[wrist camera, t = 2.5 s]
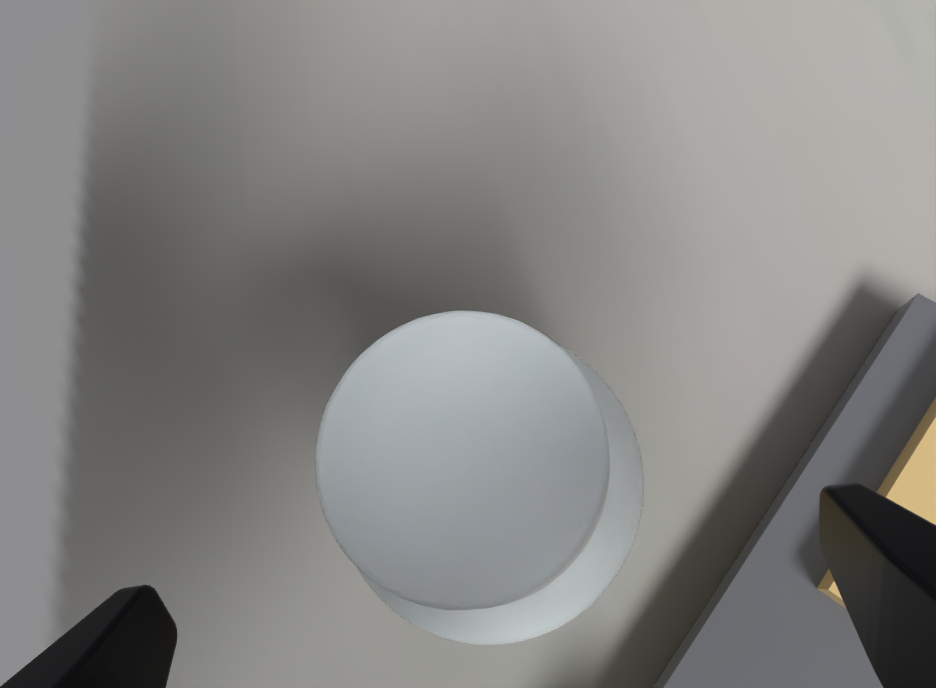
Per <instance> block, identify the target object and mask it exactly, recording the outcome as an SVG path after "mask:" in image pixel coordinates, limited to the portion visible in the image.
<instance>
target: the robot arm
mask: <svg viewBox="0 0 936 688" xmlns="http://www.w3.org/2000/svg"><path fill="white" fill-rule="evenodd" d="M819 543H820V547H821V550H822V553H823V556H824V558H825V561H826V563H827V565H828V567H829V570H830V572H831V574H832V577H833V579H834V581H835V583H836V586H837V588H838V590H839V593H840V595H841V597H842V599H843V602H844V604H845V606H846V609H847V611H848V613H849V615H850V618H851V620H852V622H853V625H854V627H855V629H856V631H857V634H858V636H859V638H860V641H861V643H862V645H863V647H864V650H865V652H866V654H867V656H868V659H869V661H870V663H871V665H872V667H873V669H874V671H875V673H876V675H877V677H878V679H879V681H880V683H881V684H882V686H883V688H936V525H935V524H933V523H931V522H929V521H928V520H926V519H924V518H922V517H920V516H919V515H917V514H915V513H913V512H911V511H910V510H908V509H906V508H904V507H902V506H901V505H899V504H897V503H895V502H893V501H892V500H890V499H888V498H886V497H884V496H883V495H881V494H879V493H877V492H875V491H874V490H872V489H870V488H868V487H866V486H865V485H863V484H860V483H857V482H847V483H841V484H834V485H827V486H825V487H823V488H822V489H821V492H820V497H819ZM176 643H177V628H176V624H175V622H174V620H173V618H172V617H171V615H170V613H169V612H168V610H167V608H166V607H165V605H164V603H163V601H162V600H161V598H160V596H159V595H158V593H157V591H156V590H155V589H154V588H153V587H151V586H149V585H141V586H134V587H127V588H123V589H120V590H118V591H117V592H115V593H114V594H113V595H112V596H110V597H109V598H108V599H107V600H106V601H104V602H103V603H102V604H101V605H99V606H98V607H97V608H96V609H95V610H93V611H92V612H91V613H90V614H88V615H87V616H86V617H85V618H84V619H82V620H81V621H80V622H79V623H77V624H76V625H75V626H74V627H73V628H71V629H70V630H69V631H68V632H66V633H65V634H64V635H63V636H62V637H60V638H59V639H58V640H57V641H55V642H54V643H53V644H52V645H51V646H49V647H48V648H47V649H46V650H44V651H43V652H42V653H41V654H40V655H38V656H37V657H36V658H35V659H33V660H32V661H31V662H30V663H29V664H27V665H26V666H25V667H24V668H22V669H21V670H20V671H19V672H18V673H17V674H15V675H14V676H13V677H11V678H10V679H9V680H8V681H7V682H6V683H4V684H3V685H2V686H0V688H166V684H167V680H168V676H169V672H170V668H171V664H172V660H173V655H174V651H175V647H176Z"/></svg>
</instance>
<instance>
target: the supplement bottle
mask: <svg viewBox="0 0 936 688" xmlns="http://www.w3.org/2000/svg"><path fill="white" fill-rule="evenodd" d="M315 467H316V482H317V489H318V493H319V500H320V504H321V507H322V510H323V513H324V516H325V519H326V521H327V523H328V525H329V528H330V530H331V532H332V534H333V536H334V537H335V539H336V541H337V543H338V544H339V546H340V547H341V549H342V550H343V552H344V553H345V554H346V556H347V557H348V558H349V559H350V560H351V561H352V562H353V564H354V565H355V566H356V567H357V569H358V570H359V572H360V573H361V575H362V576H363V578H364V579H365V581H366V582H367V584H368V585H369V586H370V587H371V589H372V590H373V591H374V592H375V593H376V594H377V596H378V597H379V598H380V599H381V600H382V601H383V602H384V603H385V604H387V605H388V606H389V607H390V608H391V609H392V610H393V611H395V612H396V613H397V614H398V615H400V616H401V617H402V618H404V619H405V620H407V621H408V622H410V623H412V624H414V625H415V626H417V627H419V628H421V629H423V630H425V631H427V632H430V633H432V634H435V635H437V636H440V637H442V638H446V639H449V640H453V641H457V642H462V643H468V644H478V645H498V644H507V643H514V642H519V641H523V640H528V639H531V638H535V637H538V636H541V635H544V634H546V633H548V632H551V631H553V630H555V629H557V628H559V627H561V626H562V625H564V624H566V623H567V622H569V621H571V620H572V619H574V618H575V617H577V616H578V615H579V614H581V613H582V612H583V611H585V610H586V609H587V608H588V607H589V606H590V605H591V604H593V603H594V602H595V601H596V600H597V599H598V598H599V597H600V596H601V595H602V594H603V593H604V592H605V590H606V589H607V588H608V586H609V585H610V584H611V582H612V581H613V580H614V578H615V577H616V576H617V574H618V572H619V571H620V569H621V567H622V565H623V564H624V562H625V560H626V558H627V556H628V554H629V552H630V550H631V547H632V545H633V542H634V539H635V536H636V533H637V530H638V526H639V522H640V518H641V513H642V506H643V491H644V477H643V467H642V458H641V454H640V449H639V444H638V441H637V438H636V435H635V432H634V429H633V426H632V424H631V421H630V419H629V417H628V415H627V413H626V411H625V409H624V407H623V406H622V404H621V402H620V401H619V399H618V398H617V396H616V395H615V393H614V392H613V390H612V389H611V388H610V387H609V385H608V384H607V383H606V382H605V380H604V379H603V378H602V377H601V376H600V375H599V374H598V373H597V372H596V371H595V370H594V369H593V368H591V367H590V366H589V365H588V364H587V363H585V362H584V361H583V360H582V359H580V358H579V357H578V356H576V355H575V354H573V353H572V352H570V351H568V350H567V349H565V348H563V347H561V346H559V345H557V344H556V343H554V342H553V341H552V340H551V339H549V338H548V337H547V336H545V335H544V334H542V333H541V332H539V331H537V330H535V329H534V328H532V327H530V326H528V325H527V324H525V323H523V322H521V321H518V320H515V319H512V318H509V317H506V316H503V315H500V314H496V313H488V312H480V311H468V310H461V311H449V312H443V313H437V314H432V315H428V316H424V317H421V318H417V319H415V320H413V321H410V322H408V323H406V324H403V325H401V326H399V327H397V328H395V329H393V330H392V331H390V332H388V333H387V334H386V335H384V336H383V337H381V338H380V339H378V340H377V341H376V342H374V343H373V344H372V345H371V346H369V347H368V348H367V349H366V350H365V351H364V352H363V353H362V354H361V355H360V356H359V357H358V358H357V359H356V360H355V361H354V362H353V363H352V364H351V366H350V367H349V368H348V369H347V371H346V372H345V374H344V375H343V377H342V378H341V380H340V381H339V383H338V385H337V386H336V388H335V390H334V392H333V393H332V395H331V397H330V399H329V401H328V403H327V406H326V408H325V411H324V414H323V417H322V420H321V424H320V427H319V432H318V437H317V443H316V457H315Z"/></svg>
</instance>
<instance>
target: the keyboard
mask: <svg viewBox="0 0 936 688" xmlns="http://www.w3.org/2000/svg"><path fill="white" fill-rule="evenodd" d="M847 482H857V483H860V484H863V485H865V486H866V487H868V488H870V489H872V490H874V491H875V492H877V493H879V494H881V495H883V496H884V497H886V498H888V499H890V500H892V501H893V502H895V503H897V504H899V505H901V506H902V507H904V508H906V509H908V510H910V511H911V512H913V513H915V514H917V515H919V516H920V517H922V518H924V519H926V520H928V521H929V522H931V523H933V524H935V525H936V303H935V302H933V301H931V300H929V299H927V298H925V297H924V296H922V295H920V294H917V295H916V296H915V297H913V298H912V299H911V300H910V301H908V302H907V303H906V304H905V305H903V306H902V307H901V308H900V309H899V310H897V312H896V313H895V315H894V316H893V318H892V319H891V321H890V322H889V324H888V326H887V327H886V329H885V330H884V332H883V333H882V335H881V336H880V338H879V339H878V341H877V342H876V344H875V346H874V347H873V349H872V350H871V352H870V353H869V355H868V356H867V358H866V359H865V361H864V363H863V364H862V366H861V367H860V369H859V370H858V372H857V373H856V375H855V376H854V378H853V379H852V381H851V383H850V384H849V386H848V387H847V389H846V390H845V392H844V393H843V395H842V396H841V398H840V400H839V401H838V403H837V404H836V406H835V407H834V409H833V410H832V412H831V413H830V415H829V416H828V418H827V420H826V421H825V423H824V424H823V426H822V427H821V429H820V430H819V432H818V433H817V435H816V437H815V438H814V440H813V441H812V443H811V444H810V446H809V447H808V449H807V450H806V452H805V453H804V455H803V457H802V458H801V460H800V461H799V463H798V464H797V466H796V467H795V469H794V470H793V472H792V474H791V475H790V477H789V478H788V480H787V481H786V483H785V484H784V486H783V487H782V489H781V490H780V492H779V494H778V495H777V497H776V498H775V500H774V501H773V503H772V504H771V506H770V507H769V509H768V511H767V512H766V514H765V515H764V517H763V518H762V520H761V521H760V523H759V524H758V526H757V527H756V529H755V531H754V532H753V534H752V535H751V537H750V538H749V540H748V541H747V543H746V544H745V546H744V548H743V549H742V551H741V552H740V554H739V555H738V557H737V558H736V560H735V561H734V563H733V564H732V566H731V568H730V569H729V571H728V572H727V574H726V575H725V577H724V578H723V580H722V581H721V583H720V585H719V586H718V588H717V589H716V591H715V592H714V594H713V595H712V597H711V598H710V600H709V601H708V603H707V605H706V606H705V608H704V609H703V611H702V612H701V614H700V615H699V617H698V618H697V620H696V622H695V623H694V625H693V626H692V628H691V629H690V631H689V632H688V634H687V635H686V637H685V638H684V640H683V642H682V643H681V645H680V646H679V648H678V649H677V651H676V652H675V654H674V655H673V657H672V659H671V660H670V662H669V663H668V665H667V666H666V668H665V669H664V671H663V672H662V674H661V675H660V677H659V679H658V680H657V682H656V683H655V685H654V686H653V688H883V686H882V684H881V683H880V681H879V679H878V677H877V675H876V673H875V671H874V669H873V667H872V665H871V663H870V661H869V659H868V656H867V654H866V652H865V650H864V647H863V645H862V643H861V641H860V638H859V636H858V634H857V631H856V629H855V627H854V625H853V622H852V620H851V618H850V615H849V613H848V611H847V609H846V606H845V604H844V602H843V599H842V597H841V595H840V593H839V590H838V588H837V586H836V583H835V581H834V579H833V577H832V574H831V572H830V570H829V567H828V565H827V563H826V561H825V558H824V556H823V553H822V550H821V547H820V543H819V497H820V492H821V489H822V488H823V487H825V486H827V485H834V484H841V483H847Z"/></svg>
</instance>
